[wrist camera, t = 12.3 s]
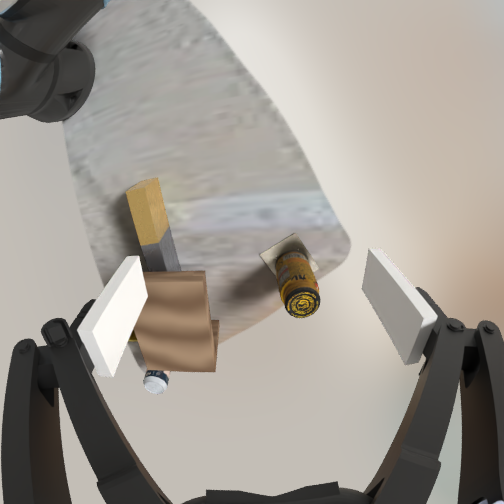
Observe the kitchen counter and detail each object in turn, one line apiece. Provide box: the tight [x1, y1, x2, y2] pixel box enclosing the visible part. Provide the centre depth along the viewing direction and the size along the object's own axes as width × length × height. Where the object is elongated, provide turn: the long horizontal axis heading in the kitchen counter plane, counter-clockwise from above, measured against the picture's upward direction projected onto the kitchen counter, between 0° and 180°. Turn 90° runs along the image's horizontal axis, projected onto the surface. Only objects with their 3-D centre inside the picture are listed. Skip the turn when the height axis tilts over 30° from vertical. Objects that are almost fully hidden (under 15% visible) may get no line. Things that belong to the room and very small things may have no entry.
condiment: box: [260, 233, 320, 318], centre depth 47 cm, size 7×8×12 cm
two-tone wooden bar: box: [126, 177, 181, 272], centre depth 48 cm, size 27×3×7 cm, turn 8°
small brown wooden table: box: [134, 271, 219, 372], centre depth 48 cm, size 18×12×12 cm, turn 1°
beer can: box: [143, 368, 171, 394], centre depth 55 cm, size 5×5×12 cm
